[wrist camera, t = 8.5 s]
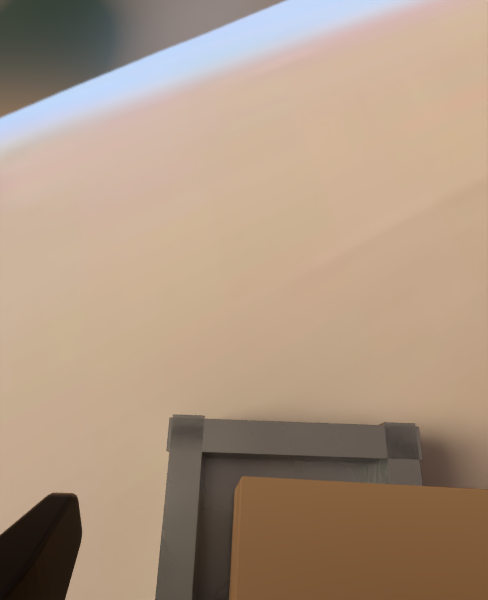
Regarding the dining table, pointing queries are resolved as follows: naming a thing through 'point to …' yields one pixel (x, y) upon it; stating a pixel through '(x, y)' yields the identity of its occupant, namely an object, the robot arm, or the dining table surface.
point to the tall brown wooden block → (357, 541)
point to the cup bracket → (258, 463)
